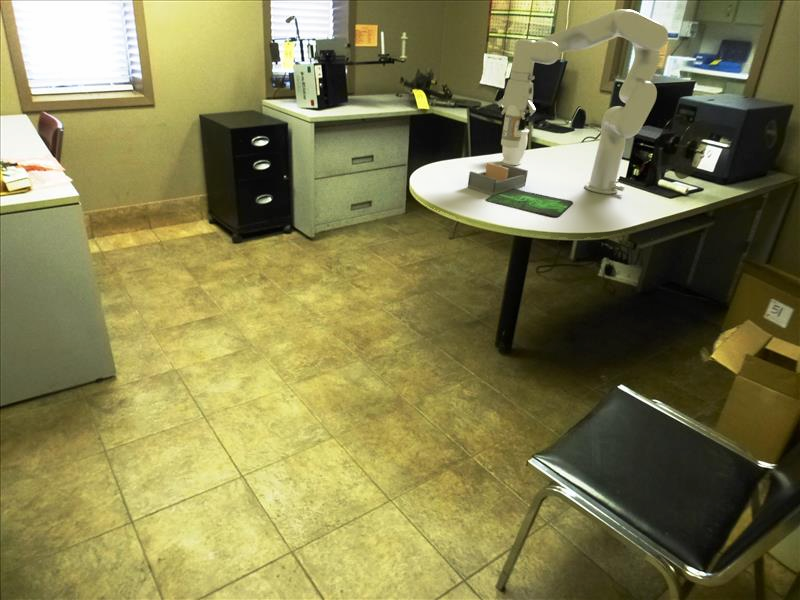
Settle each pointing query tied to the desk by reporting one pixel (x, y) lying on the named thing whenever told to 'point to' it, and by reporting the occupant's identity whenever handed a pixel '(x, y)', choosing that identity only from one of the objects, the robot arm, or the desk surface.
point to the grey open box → (492, 187)
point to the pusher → (496, 172)
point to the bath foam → (511, 128)
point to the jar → (515, 150)
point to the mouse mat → (531, 202)
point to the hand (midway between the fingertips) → (512, 127)
